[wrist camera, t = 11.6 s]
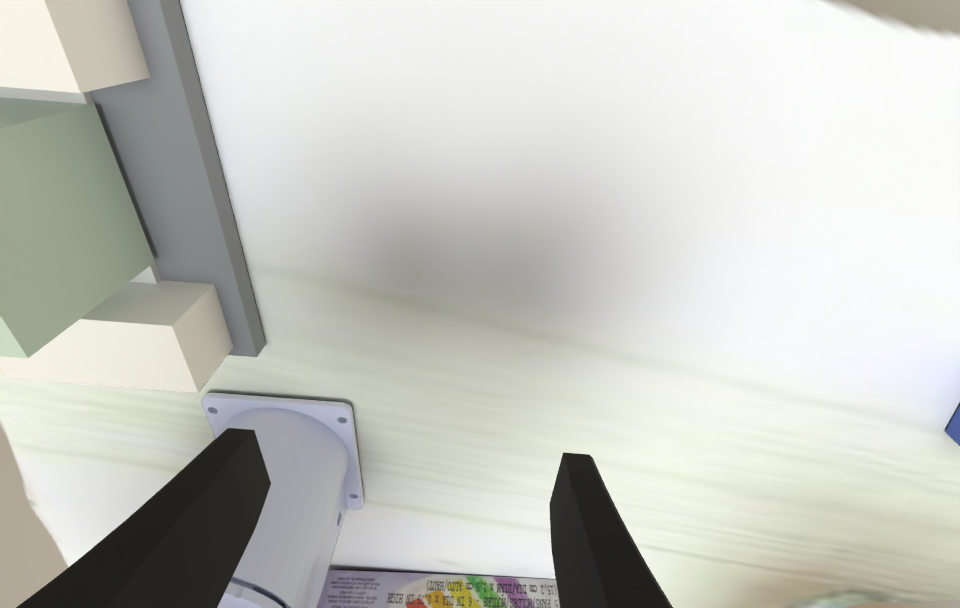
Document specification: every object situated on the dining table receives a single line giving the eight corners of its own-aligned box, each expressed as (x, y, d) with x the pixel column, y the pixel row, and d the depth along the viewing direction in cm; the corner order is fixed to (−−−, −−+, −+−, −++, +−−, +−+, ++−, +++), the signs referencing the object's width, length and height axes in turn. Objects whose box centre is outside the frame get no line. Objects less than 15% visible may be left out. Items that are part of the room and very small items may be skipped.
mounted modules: (233, 347, 21) (198, 393, 19) (63, 334, 21) (5, 378, 19) (115, -36, 13) (26, -45, 11) (-161, -59, 13) (-315, -73, 11)
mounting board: (265, 343, 22) (254, 361, 21) (63, 328, 22) (41, 344, 21) (170, -32, 14) (143, -35, 13) (-154, -59, 14) (-208, -63, 13)
